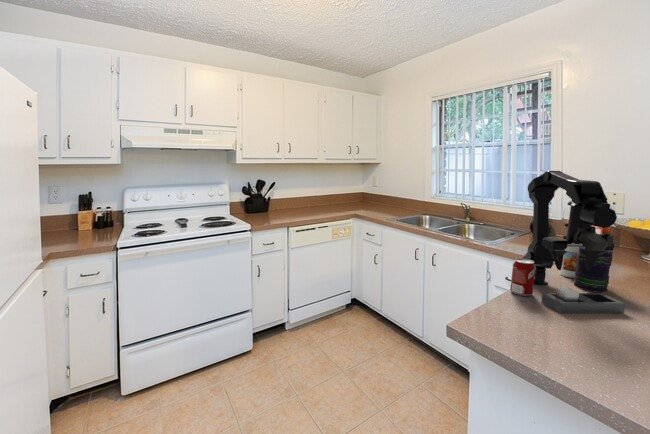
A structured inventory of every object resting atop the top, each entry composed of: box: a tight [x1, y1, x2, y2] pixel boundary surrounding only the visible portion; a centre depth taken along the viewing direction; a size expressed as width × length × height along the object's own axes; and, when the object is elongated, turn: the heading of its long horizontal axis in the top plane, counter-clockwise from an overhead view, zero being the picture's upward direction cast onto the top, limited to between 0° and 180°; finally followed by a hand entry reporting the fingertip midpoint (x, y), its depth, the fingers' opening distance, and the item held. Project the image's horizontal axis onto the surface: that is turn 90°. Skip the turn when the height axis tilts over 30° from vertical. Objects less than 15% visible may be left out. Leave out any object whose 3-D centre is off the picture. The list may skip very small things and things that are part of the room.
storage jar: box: [573, 247, 614, 293], centre depth 117 cm, size 10×10×15 cm
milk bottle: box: [558, 243, 581, 279], centre depth 130 cm, size 8×8×20 cm
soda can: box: [509, 258, 536, 297], centre depth 111 cm, size 7×7×12 cm
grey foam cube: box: [555, 287, 580, 302], centre depth 100 cm, size 4×4×5 cm
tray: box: [541, 292, 626, 314], centre depth 100 cm, size 8×20×3 cm, turn 91°
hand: (573, 269), depth 100 cm, fingers open, 9 cm apart
